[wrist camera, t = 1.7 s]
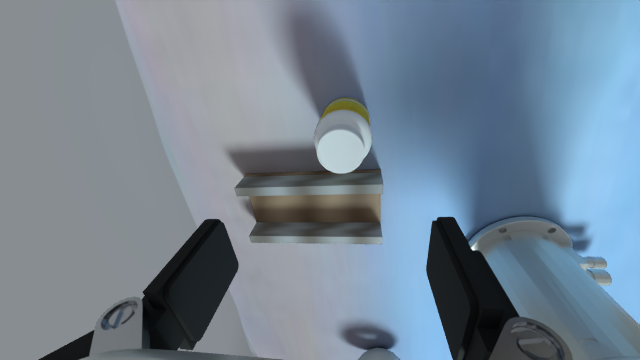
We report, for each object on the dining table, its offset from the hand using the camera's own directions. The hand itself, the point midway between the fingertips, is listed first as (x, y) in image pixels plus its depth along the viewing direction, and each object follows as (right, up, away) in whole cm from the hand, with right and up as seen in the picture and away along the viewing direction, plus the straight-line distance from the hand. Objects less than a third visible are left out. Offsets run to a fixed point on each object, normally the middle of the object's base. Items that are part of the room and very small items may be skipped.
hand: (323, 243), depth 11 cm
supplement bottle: (+3, +10, +18) cm, 21 cm away
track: (-1, 0, +24) cm, 24 cm away
